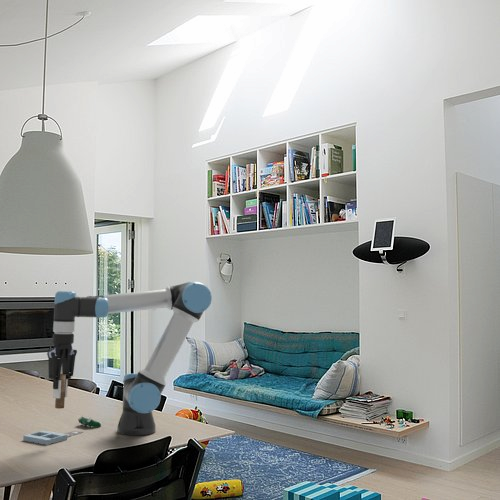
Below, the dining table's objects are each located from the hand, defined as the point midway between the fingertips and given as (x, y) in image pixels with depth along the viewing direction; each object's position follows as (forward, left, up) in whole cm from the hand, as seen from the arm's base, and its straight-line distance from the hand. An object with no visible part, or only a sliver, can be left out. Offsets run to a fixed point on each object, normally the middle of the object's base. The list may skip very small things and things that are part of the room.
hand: (60, 397), depth 227 cm
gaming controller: (+10, -27, -17) cm, 33 cm away
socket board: (+7, -1, -17) cm, 18 cm away
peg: (0, 0, -4) cm, 4 cm away
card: (+6, -13, -17) cm, 22 cm away
